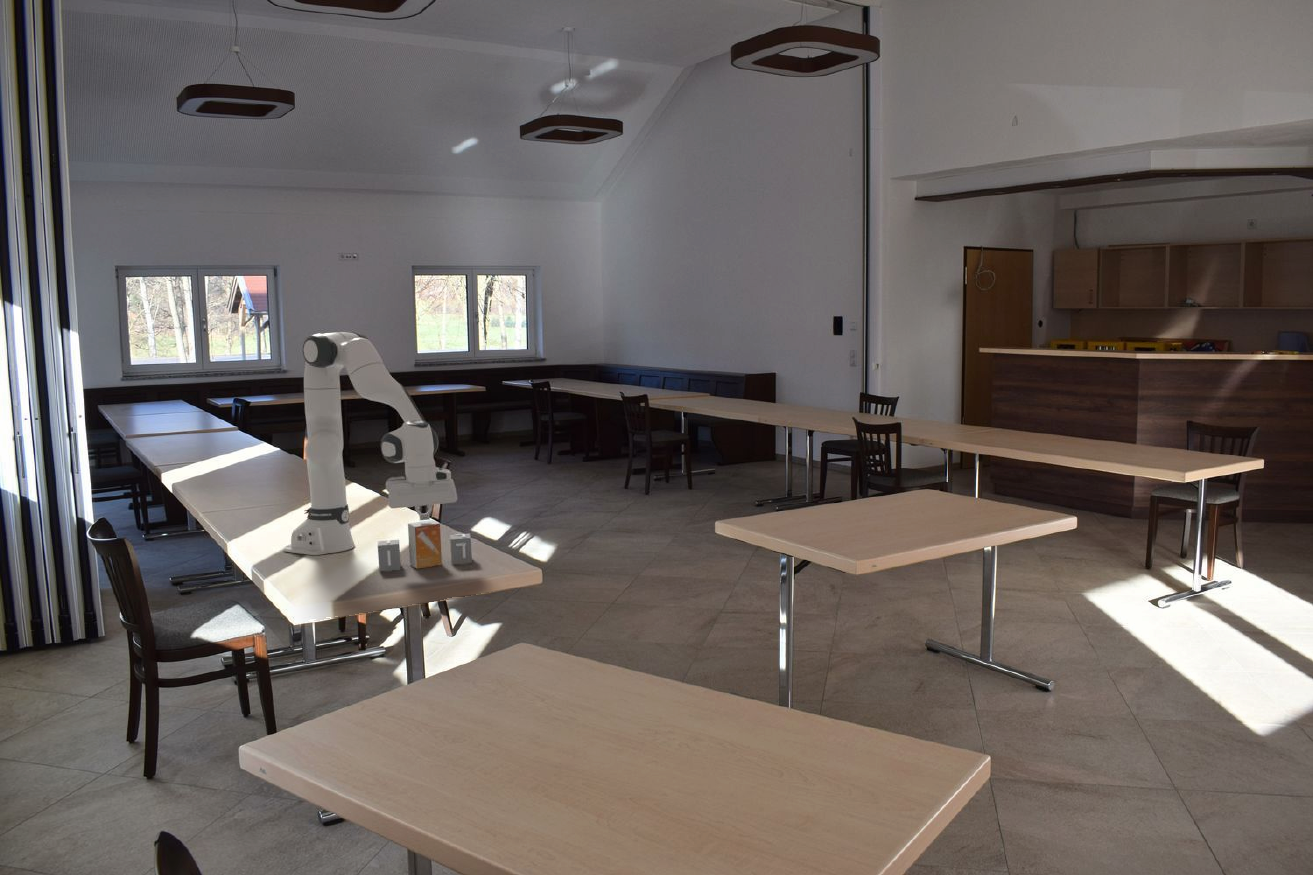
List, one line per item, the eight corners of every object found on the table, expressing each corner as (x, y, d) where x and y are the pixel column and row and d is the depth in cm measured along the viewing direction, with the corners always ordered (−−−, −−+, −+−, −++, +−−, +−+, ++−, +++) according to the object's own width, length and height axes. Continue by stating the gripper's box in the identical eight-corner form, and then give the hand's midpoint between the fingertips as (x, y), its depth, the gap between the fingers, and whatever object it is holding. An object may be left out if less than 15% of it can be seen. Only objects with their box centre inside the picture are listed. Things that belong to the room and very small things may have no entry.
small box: (416, 569, 290) (414, 526, 288) (409, 565, 295) (407, 523, 293) (442, 565, 294) (440, 522, 292) (435, 560, 299) (432, 519, 298)
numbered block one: (379, 572, 288) (377, 544, 287) (380, 566, 294) (378, 540, 293) (400, 570, 289) (398, 543, 288) (400, 565, 295) (399, 538, 294)
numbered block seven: (451, 565, 293) (450, 538, 292) (451, 560, 299) (449, 534, 298) (472, 563, 295) (470, 537, 294) (471, 558, 301) (469, 532, 300)
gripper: (384, 479, 285) (388, 525, 287) (455, 473, 290) (459, 518, 292) (385, 476, 291) (389, 521, 293) (454, 469, 296) (458, 514, 298)
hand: (424, 519), depth 293 cm, fingers closed
